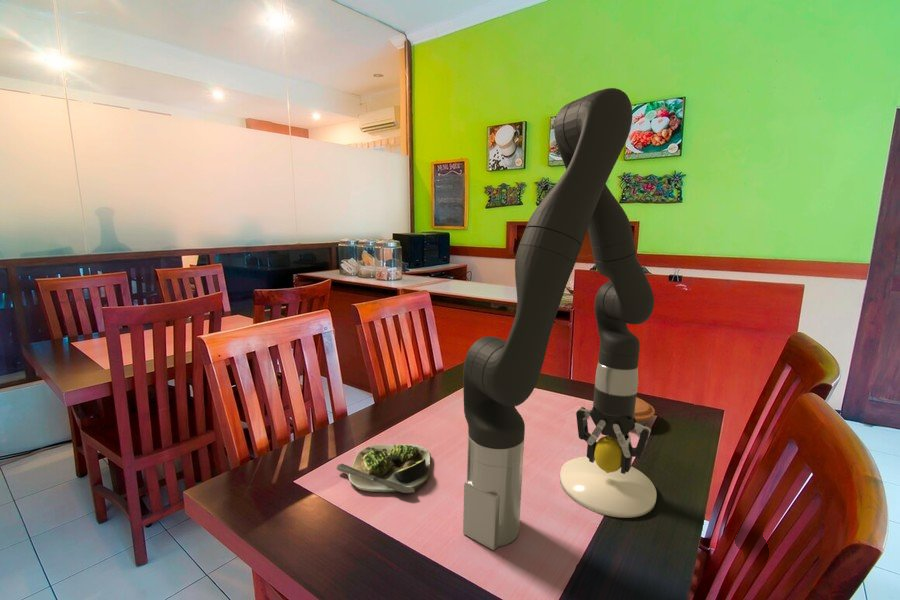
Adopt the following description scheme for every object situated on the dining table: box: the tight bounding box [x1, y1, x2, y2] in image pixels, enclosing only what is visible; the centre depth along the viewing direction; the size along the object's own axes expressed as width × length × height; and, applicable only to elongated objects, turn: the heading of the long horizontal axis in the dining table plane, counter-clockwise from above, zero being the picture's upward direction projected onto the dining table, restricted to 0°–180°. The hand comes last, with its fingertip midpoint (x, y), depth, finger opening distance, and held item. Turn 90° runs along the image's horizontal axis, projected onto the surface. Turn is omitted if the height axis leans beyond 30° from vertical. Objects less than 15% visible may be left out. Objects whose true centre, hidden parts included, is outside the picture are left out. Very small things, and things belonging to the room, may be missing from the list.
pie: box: [634, 396, 656, 426], centre depth 113 cm, size 15×16×5 cm
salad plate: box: [336, 443, 432, 494], centre depth 87 cm, size 19×18×5 cm
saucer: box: [559, 455, 657, 519], centre depth 83 cm, size 18×18×1 cm
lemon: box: [594, 435, 624, 473], centre depth 82 cm, size 6×6×8 cm
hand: (608, 465), depth 83 cm, fingers closed on lemon, 5 cm apart
